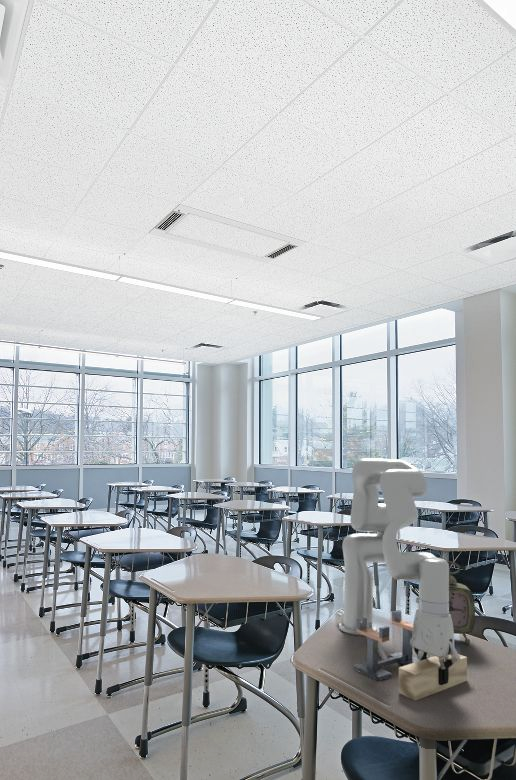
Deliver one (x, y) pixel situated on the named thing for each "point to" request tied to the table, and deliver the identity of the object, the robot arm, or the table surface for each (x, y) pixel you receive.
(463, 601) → the tabletop clock
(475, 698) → the table surface
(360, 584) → the robot arm
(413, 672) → the rail
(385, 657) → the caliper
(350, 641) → the table surface
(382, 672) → the grey support stand
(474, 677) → the table surface
